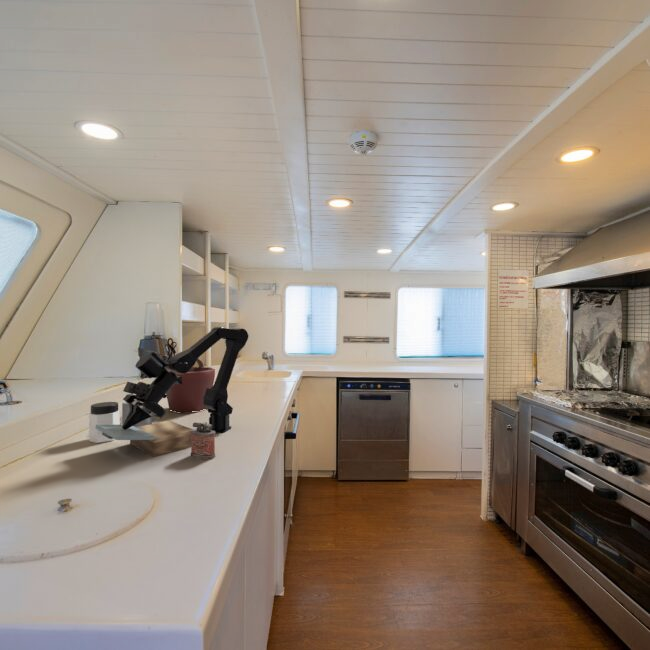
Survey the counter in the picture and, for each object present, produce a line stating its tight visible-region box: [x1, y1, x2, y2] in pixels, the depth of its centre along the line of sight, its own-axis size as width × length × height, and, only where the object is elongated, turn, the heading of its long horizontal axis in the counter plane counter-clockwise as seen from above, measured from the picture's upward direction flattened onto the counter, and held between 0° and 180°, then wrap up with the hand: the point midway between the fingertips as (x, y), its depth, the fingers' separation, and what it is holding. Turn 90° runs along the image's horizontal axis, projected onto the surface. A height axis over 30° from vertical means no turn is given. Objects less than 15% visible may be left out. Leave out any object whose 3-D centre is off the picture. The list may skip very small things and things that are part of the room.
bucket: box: [165, 357, 216, 412], centre depth 166 cm, size 24×22×25 cm
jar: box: [88, 401, 121, 444], centre depth 121 cm, size 9×8×12 cm
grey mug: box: [121, 400, 159, 427], centre depth 137 cm, size 13×10×10 cm
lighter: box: [190, 421, 216, 460], centre depth 105 cm, size 8×3×10 cm, turn 71°
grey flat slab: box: [95, 424, 154, 441], centre depth 107 cm, size 2×18×10 cm
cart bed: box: [129, 420, 195, 457], centre depth 115 cm, size 13×18×5 cm
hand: (123, 428), depth 107 cm, fingers closed
